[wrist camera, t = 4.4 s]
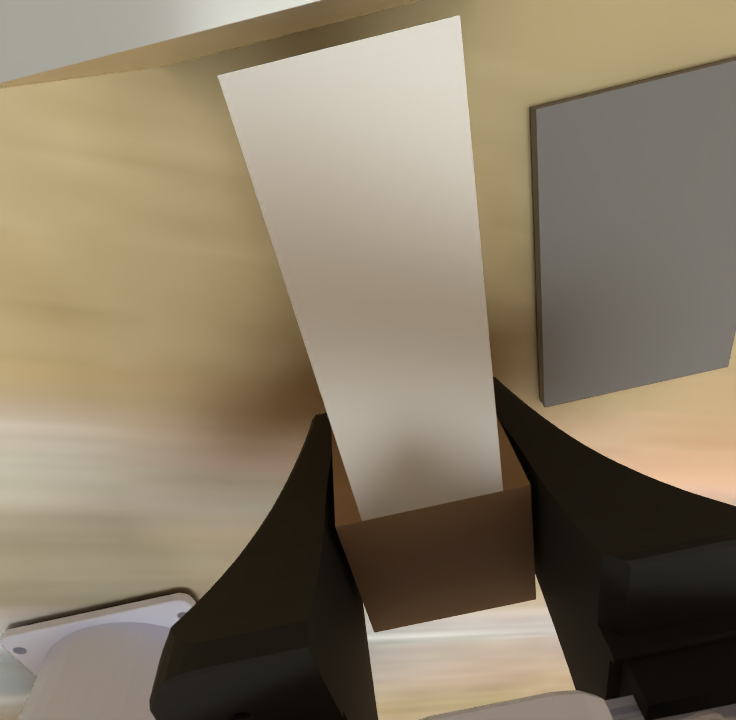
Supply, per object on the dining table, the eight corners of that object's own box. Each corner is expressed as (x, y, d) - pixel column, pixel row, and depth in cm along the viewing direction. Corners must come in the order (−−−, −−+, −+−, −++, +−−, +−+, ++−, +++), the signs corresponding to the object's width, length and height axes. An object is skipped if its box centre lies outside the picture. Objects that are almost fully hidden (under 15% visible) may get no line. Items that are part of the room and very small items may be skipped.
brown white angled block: (466, 424, 16) (536, 599, 11) (356, 448, 16) (374, 632, 11) (413, 24, 10) (507, 2, 5) (242, 67, 10) (172, 87, 5)
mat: (719, 360, 17) (728, 366, 16) (540, 400, 17) (544, 407, 16) (782, 45, 12) (795, 45, 11) (529, 107, 12) (536, 109, 12)
